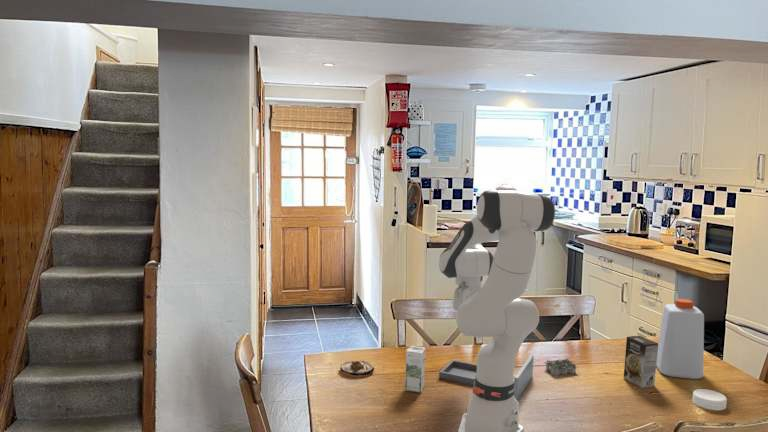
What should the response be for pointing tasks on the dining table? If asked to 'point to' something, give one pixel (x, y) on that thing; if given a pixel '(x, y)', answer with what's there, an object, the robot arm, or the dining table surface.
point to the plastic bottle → (681, 341)
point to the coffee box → (640, 361)
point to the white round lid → (709, 399)
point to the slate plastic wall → (523, 377)
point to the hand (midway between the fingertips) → (466, 316)
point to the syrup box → (415, 369)
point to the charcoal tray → (459, 372)
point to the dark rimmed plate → (357, 369)
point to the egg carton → (560, 366)
